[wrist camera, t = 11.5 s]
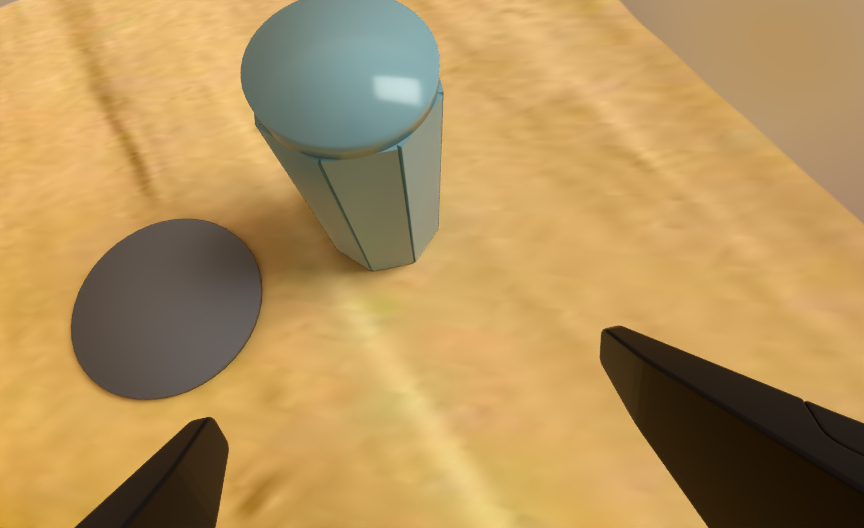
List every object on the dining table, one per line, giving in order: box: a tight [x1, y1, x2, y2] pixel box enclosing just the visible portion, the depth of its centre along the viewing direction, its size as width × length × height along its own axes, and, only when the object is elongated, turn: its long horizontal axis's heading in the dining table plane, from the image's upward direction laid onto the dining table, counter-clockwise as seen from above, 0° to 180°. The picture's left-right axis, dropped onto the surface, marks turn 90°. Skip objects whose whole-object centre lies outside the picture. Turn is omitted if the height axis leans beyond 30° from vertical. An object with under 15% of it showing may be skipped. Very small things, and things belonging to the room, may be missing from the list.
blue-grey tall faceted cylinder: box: [241, 0, 443, 271], centre depth 19 cm, size 7×7×13 cm
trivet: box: [71, 219, 262, 399], centre depth 23 cm, size 11×11×1 cm
